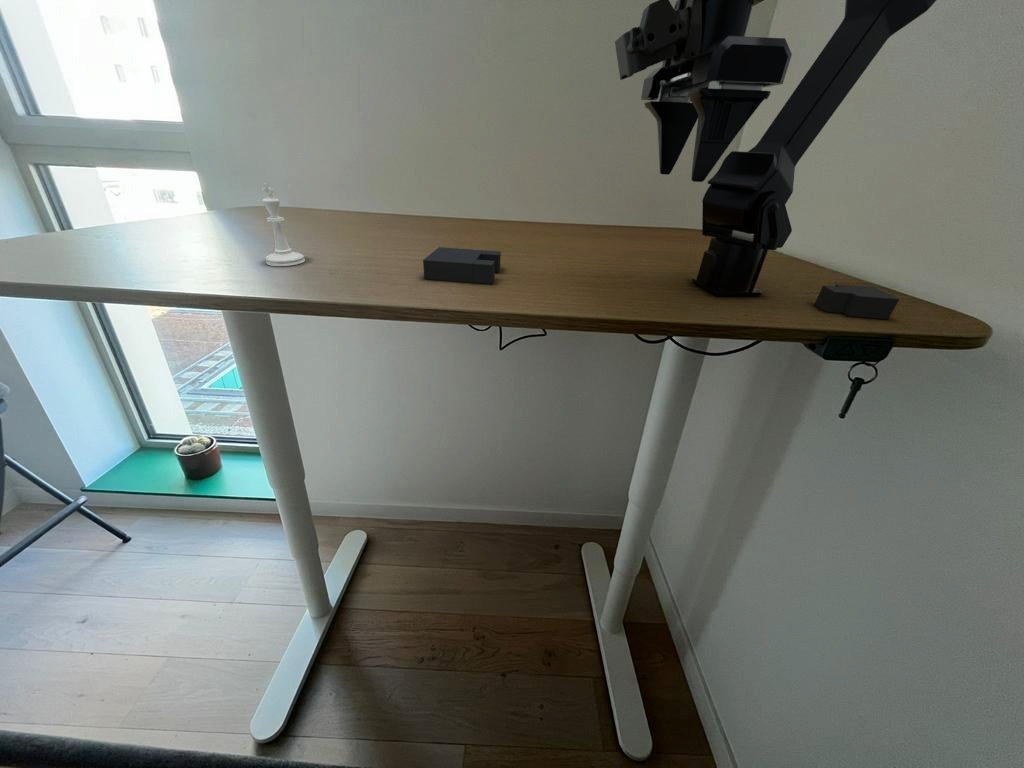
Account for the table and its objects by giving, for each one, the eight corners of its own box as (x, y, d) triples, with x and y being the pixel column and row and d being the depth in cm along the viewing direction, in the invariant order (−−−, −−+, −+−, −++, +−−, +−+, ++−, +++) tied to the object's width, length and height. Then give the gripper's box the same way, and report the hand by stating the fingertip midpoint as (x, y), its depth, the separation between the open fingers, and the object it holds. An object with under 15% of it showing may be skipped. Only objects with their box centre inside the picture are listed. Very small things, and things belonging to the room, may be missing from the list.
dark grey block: (863, 306, 50) (874, 286, 49) (888, 319, 46) (900, 298, 45) (809, 302, 51) (818, 282, 49) (829, 315, 47) (839, 294, 46)
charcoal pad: (500, 269, 58) (500, 251, 57) (491, 284, 52) (492, 265, 50) (439, 264, 59) (438, 246, 57) (424, 279, 52) (422, 259, 51)
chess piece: (290, 267, 54) (269, 186, 49) (258, 264, 55) (234, 183, 50) (312, 259, 58) (296, 182, 53) (282, 256, 59) (263, 180, 54)
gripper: (608, 2, 42) (589, 169, 50) (671, -80, 26) (628, 183, 35) (711, 7, 43) (675, 172, 51) (835, -71, 27) (754, 187, 35)
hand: (679, 177), depth 43 cm, fingers open, 9 cm apart
